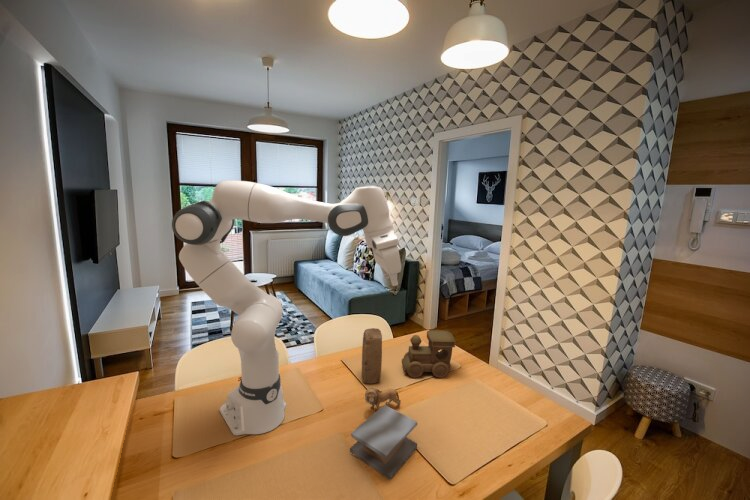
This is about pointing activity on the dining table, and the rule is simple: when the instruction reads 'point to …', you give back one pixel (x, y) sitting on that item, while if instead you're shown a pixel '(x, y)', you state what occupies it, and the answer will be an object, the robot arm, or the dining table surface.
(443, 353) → the wooden toy train
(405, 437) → the stand
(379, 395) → the lion figurine
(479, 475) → the dining table surface
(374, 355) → the block
